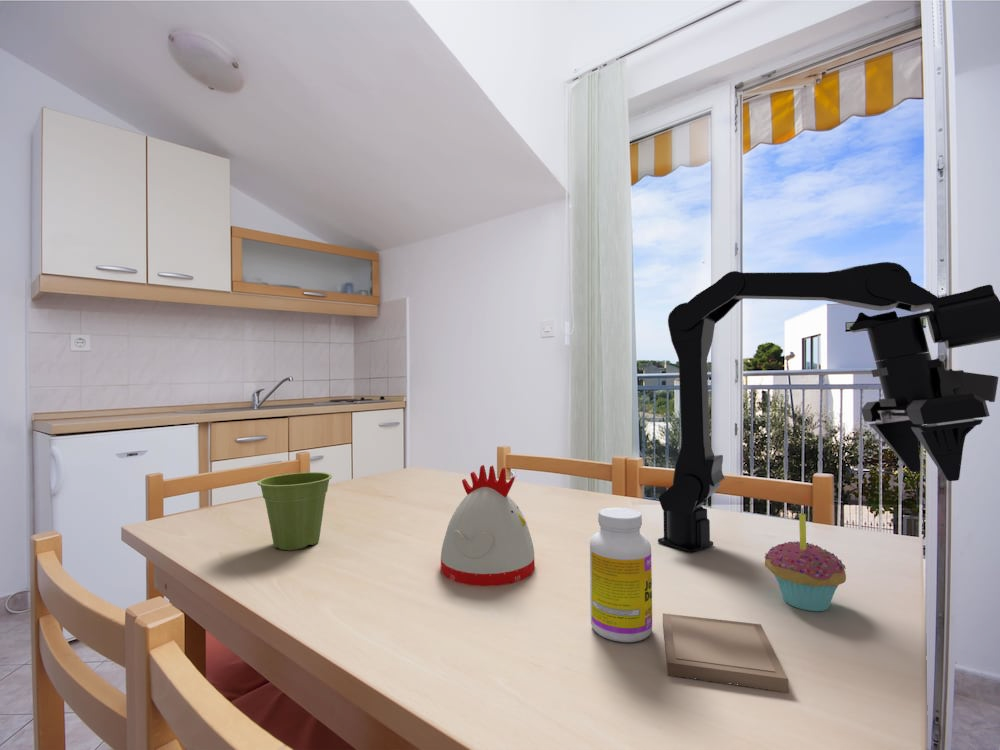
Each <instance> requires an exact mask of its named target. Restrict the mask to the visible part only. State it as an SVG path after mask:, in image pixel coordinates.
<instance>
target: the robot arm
mask: <svg viewBox="0 0 1000 750" xmlns="http://www.w3.org/2000/svg"><path fill="white" fill-rule="evenodd" d="M743 299H744V300H745V299H747V300H750V299H751V300H788V301H791V300H792V301H793V300H794V301H796V300H797V301H826V302H832V303H837V304H842V305H846V306H851V307H855V308H860V309H866V310H873V311H879V312H880V311H888V310H892V309H899V310H903V311H906V312H911V313H913V314H907V315H904V316H903V315H902V316H898V315H897V311H895V310H893V311H889V312H885V313H879V314H875V315H870V316H869V315H867V314H865V313H864V312H859V313H858V315H857V317H856V319H855V321H854V322H853V324H851V325H850V326H849V330H850V332H851V333H859V332H864V331H866V332H867V335H868V338H869V343H870V347H871V350H872V354H873V359H874V362H875V365H876V368H875V369H871V374H872V377H873V378H879V381H880V386H881V390H882V393H883V398H880V399H878V400H874V401H873V400H872V401H868V402H866V403H865V404H864V405H863V406H862V408H861V413H862V417H863V422H865V423H866V422H867V423H869V427H870V428H872V429H873V430H874V431H875V432H876V434H878V436H879V437H880V438H881V440H882V441H884V443H885V444H886V445H887V446H888V447H889V448H890V449H891V450H892V452H893V453H894V454H895V455H896V457H897V458H898V459H899V460H900V461H901V462H902V464H903V465H904V466H905V467H906V469H908V471H909V472H911V473H917V472H921V457H920V447H919V442H920V444H921V445H922V447H923V448H924V450H925V452H927V453H928V455H929V458H930V459H931V460H932V462H933V463H934V465H935V466H936V467H937V469H938V471H939V472H940V473H941V474H942V476H943V477H944V479H945V480H946V481H947V482H955V481H959V480H960V477H961V476H960V475H961V466H962V459H963V451H964V445H965V441H966V436H967V435H968V434H969V433H970V432H971V431H972V430H973V429H974V428H976V426H979V425H981V424H982V423H983V422H984V418H987V417H990V412H989V408H988V405H987V402H988V403H994V402H995V401H996V396H997V391H998V390H997V389H998V383H999V376H997V375H991V374H982V373H974V372H966V371H964V370H963V369H957V370H953V369H952V368H946V367H945V364H944V362H943V361H942V360H940V358H934V359H933V358H932V356H931V351H930V348H929V345H928V341H927V337H926V334H925V329H924V326H923V322H922V320H921V319H926V322H927V326H928V331H929V334H930V337H931V339H932V341H933V343H934V344H938V343H939V344H942V343H943V344H944V345H945V348H947V350H949V349H954V348H962V347H966V346H972V345H977V344H983V343H989V342H994V341H1000V298H999V297H998V296H997V294H996V293H995V290H994V287H993V285H992V284H985V285H981V286H977V287H974V288H972V289H969V290H967V291H961V292H958V293H953V294H948V295H944V296H939V297H938V296H937V295H935V294H934V293H932V292H931V290H927V289H925V288H924V287H922V286H920V285H918V284H916V283H915V282H913V281H912V276H911V274H910V272H909V271H908V269H906V268H905V267H904V266H903V265H902V264H899V263H897V262H890V261H882V262H877V263H875V262H874V263H870V264H863V265H857V266H851V267H847V268H843V269H839V270H833V271H827V272H824V271H820V272H817V271H816V272H815V271H814V272H811V271H810V272H806V271H805V272H803V271H802V272H800V271H799V272H791V271H790V272H787V271H786V272H741V271H738V270H736V271H735V270H734V271H733V270H732V271H729V272H727V273H725V274H724V275H723V276H722V277H721V278H719V279H718V280H717V281H715V282H714V283H713V284H711V285H710V286H708V287H707V288H705V289H703V291H700V292H699V293H696V295H694V296H693V297H692V298H691V299H690V300H689V301H687V302H683V303H680V304H678V305H676V306H675V307H674V308H673V309H672V311H670V312H669V314H668V318H667V325H668V330H669V334H670V335H669V336H670V341H671V344H672V346H673V349H674V351H675V354H676V355H677V360H678V372H679V373H678V375H679V377H678V378H679V404H680V405H679V406H680V407H679V408H680V436H681V437H680V439H681V441H680V449H679V452H678V456H677V458H676V461H675V465H674V473H673V479H672V485H671V486H670V487H669V488H668V489H667V490H665V491H664V492H663V493H661V495H660V496H659V497H658V501H659V504H660V506H661V508H662V511H663V537H659V538H657V542H658V543H660V544H662V545H664V546H668V547H672V548H675V549H679V550H682V551H684V552H688V553H694V552H697V551H699V550H704V549H705V548H709V547H712V546H714V541H712V540H711V531H710V530H711V528H710V527H711V526H710V524H711V523H710V522H711V521H710V519H709V518H708V508H704V507H703V505H706V503H707V502H708V500H709V497H711V496H713V494H715V493H716V492H717V491H718V490H719V487H720V485H721V482H722V481H724V480H726V479H725V477H724V473H723V462H724V455H723V454H717V455H715V453H714V451H713V449H712V446H711V441H710V439H711V438H710V414H709V413H710V412H709V387H708V386H709V384H708V383H709V381H708V358H709V357H708V356H709V353H710V350H711V346H712V343H713V339H714V333H715V328H716V327H715V325H716V324H717V323H718V322H719V321H721V320H722V319H723V318H724V317H726V316H727V314H729V312H731V310H732V309H733V308H734V307H735V306H736V305H737V304H738V303H739V302H741V301H742V300H743ZM925 310H929V311H925ZM920 311H923V312H920ZM915 312H919V313H915ZM979 418H980V419H979ZM981 418H983V419H981Z"/></svg>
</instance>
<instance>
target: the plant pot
mask: <svg viewBox="0 0 1000 750" xmlns="http://www.w3.org/2000/svg"><path fill="white" fill-rule="evenodd" d="M332 478H333V475H332V474H331V473H328V472H317V471H316V472H315V471H314V472H308V471H307V472H293V473H286V474H280V475H273V476H269V477H264V478H262V479H259V480H257V483H256V484H257V485H258V486H259V487H260V488H261V492H262V493H261V494H262V498H263V499H264V501H265V506H266V507H265V508H266V513H267V516H268V521H269V527H270V533H271V538H272V542H273V547H274V548H278V549H280V550H281V551H282V550H283V551H290V550H302V549H304V548H306V547H307V546H309V545H311V546H313V545H314V546H315V545H316V544H318V542H319V541H320V537H321V528H322V522H323V517H324V509H325V501H326V496H327V495H326V494H327V492H328V488H329V484H330V483H329V482H330V480H331V479H332Z"/></svg>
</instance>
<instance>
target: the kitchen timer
mask: <svg viewBox="0 0 1000 750" xmlns="http://www.w3.org/2000/svg"><path fill="white" fill-rule="evenodd" d="M506 471H507V470H506V467H503V468H501V471H500V474H499V476H498V479H497V477H496V471H495V468H494V464H493V465H491V466H489V471H488V476H487V473H486V468H485V465H484V464H481V465H480V468H479V473H478V476H477V474H476V472H475V471H471V472H470V479H471V483H472V487H471V485H470V484H469V482H468V481H467V479H466V478H463V479H461V482H462V486H463V488H464V491H465V492H466V494H467V495H465V497H464V498H463V499H462V500H461V502H460V503H459V504H458V506H456V508H457V509H456V508H455V511H454V512H453V514H452V516H451V518H450V520H449V522H448V525H447V528H446V532H445V535H444V538H443V541H442V542H443V543H442V546H441V552H440V553H441V554H440V571H441V574H442V575H443V576H444V577H445V578H446V579H448V580H451V581H453V582H455V583H457V584H458V583H459V584H463V585H468V586H475V587H493V586H497V587H498V586H504V585H508V584H509V585H510V584H513V583H517V582H520V581H522V580H524V579H527V578H528V577H530V576H532V574H533V572H534V571H535V548H534V542H533V539H532V535H531V533H530V530H529V526H528V523H527V520H526V518H525V516H524V514H523V513H522V510H521V509H520V508H519V506H518V505H517V504H516V502H515V501H514V500H513V499H512V498H511V497H510V496H509V495H508V494H510V491H511V488H512V486H513V484H514V481H515V477H516V475H514V476H512V477H511V478H510V480H509V481H507V472H506Z"/></svg>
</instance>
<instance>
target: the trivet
mask: <svg viewBox="0 0 1000 750" xmlns="http://www.w3.org/2000/svg"><path fill="white" fill-rule="evenodd" d="M662 628H663V629H662V630H663V631H662V632H663V640H664V650H665V651H664V652H665V662H666V670H667V676H670V677H675V676H678V677H677V678H682V677H685V678H684V679H689V678H692V679H691V680H694V679H693V678H696V679H701V680H700V681H703V680H707V681H706V682H710V681H713V682H712V683H717V682H722V683H721V684H724V683H731V684H735V685H734V686H738V685H742V686H741V687H745V686H749V687H748V688H752V687H755V688H754V689H759V688H762V689H761V690H766V689H768V690H767V691H773V690H774V691H773V692H781V693H789V679H788V676H787V674H786V672H785V670H784V668H783V666H782V664H781V662H780V660H779V658H778V656H777V654H776V651H775V650H774V648H773V645H772V643H771V641H770V640H769V638H768V636H767V634H766V632H765V630H764V628H763V626H762V624H761V623H753V622H742V621H735V620H734V621H733V620H726V619H717V618H708V617H698V616H690V615H682V614H681V615H680V614H671V613H662ZM696 679H695V680H696ZM731 684H730V685H731ZM737 684H738V685H737Z"/></svg>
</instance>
